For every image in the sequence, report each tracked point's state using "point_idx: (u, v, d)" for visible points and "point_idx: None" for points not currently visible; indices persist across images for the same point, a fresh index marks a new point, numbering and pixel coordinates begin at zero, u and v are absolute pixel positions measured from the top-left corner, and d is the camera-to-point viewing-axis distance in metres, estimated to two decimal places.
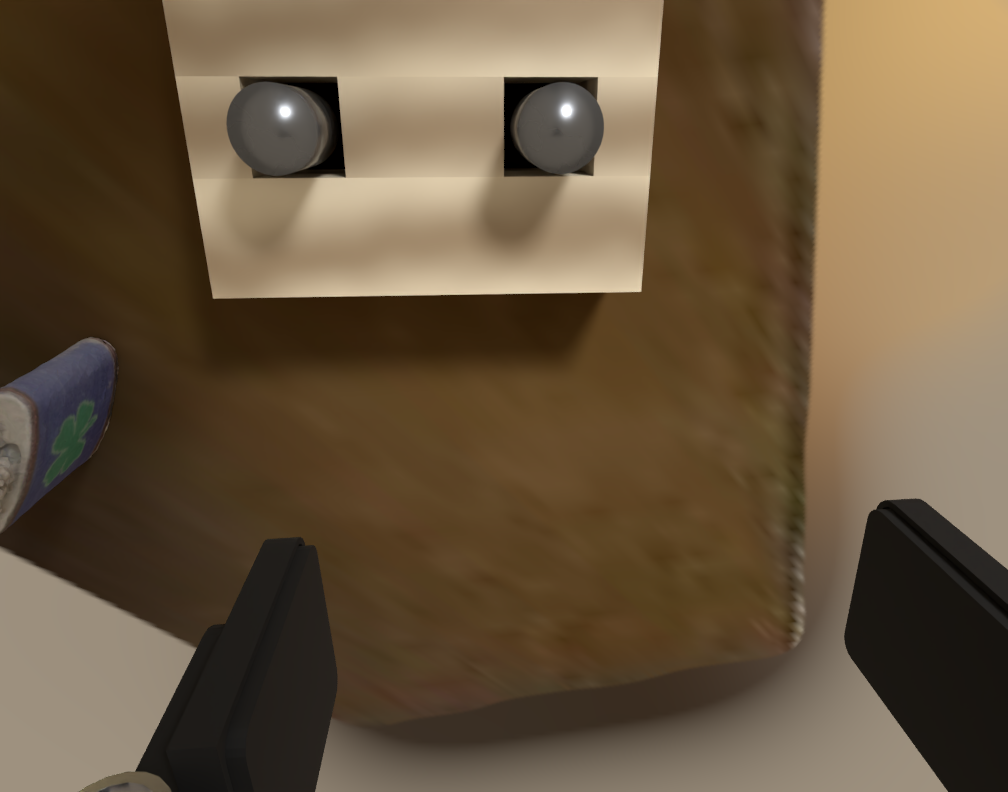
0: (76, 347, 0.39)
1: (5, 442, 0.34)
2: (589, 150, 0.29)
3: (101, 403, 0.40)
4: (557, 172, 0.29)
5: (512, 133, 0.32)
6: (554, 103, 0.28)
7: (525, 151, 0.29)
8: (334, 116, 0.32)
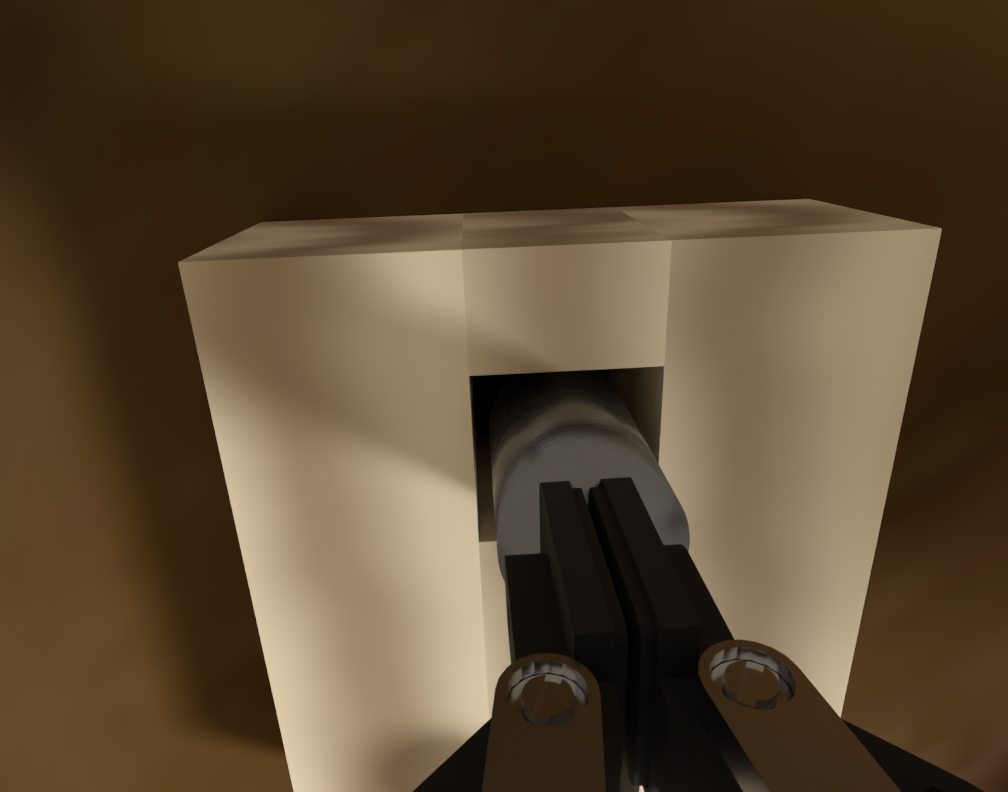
0: None
1: None
2: None
3: None
4: None
5: None
6: None
7: None
8: None
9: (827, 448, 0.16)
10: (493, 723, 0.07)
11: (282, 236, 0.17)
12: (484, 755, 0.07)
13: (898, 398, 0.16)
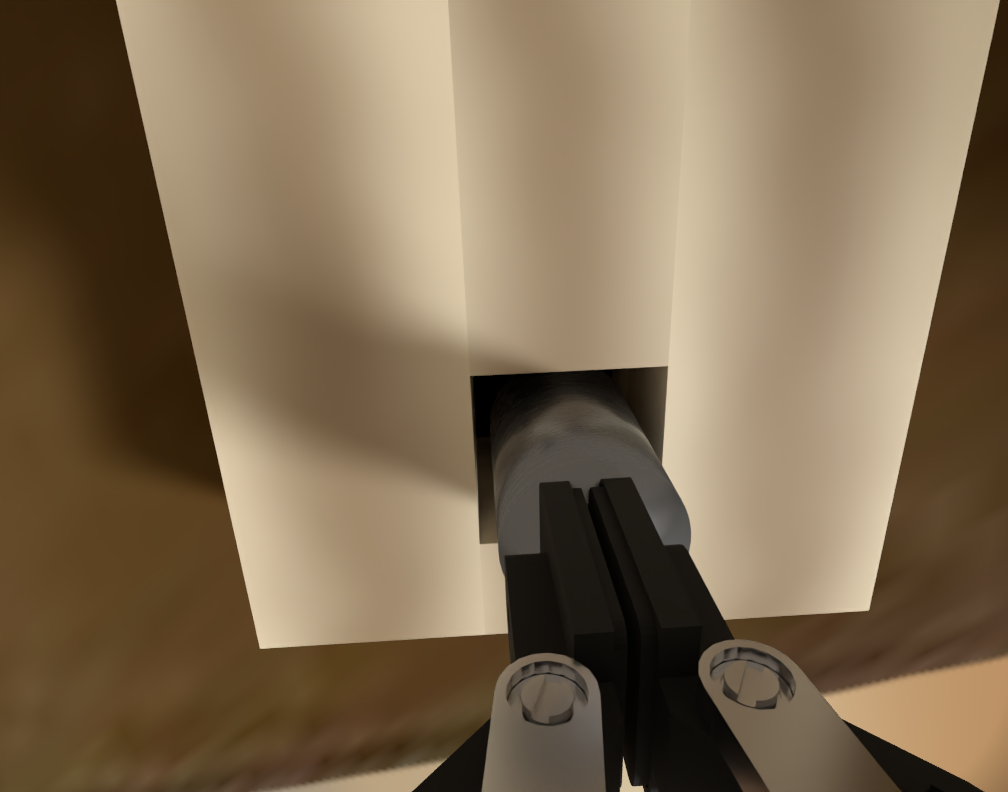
0: None
1: None
2: None
3: None
4: (501, 545, 0.12)
5: (555, 378, 0.16)
6: None
7: (546, 475, 0.12)
8: None
9: None
10: (493, 723, 0.07)
11: None
12: (484, 755, 0.07)
13: None
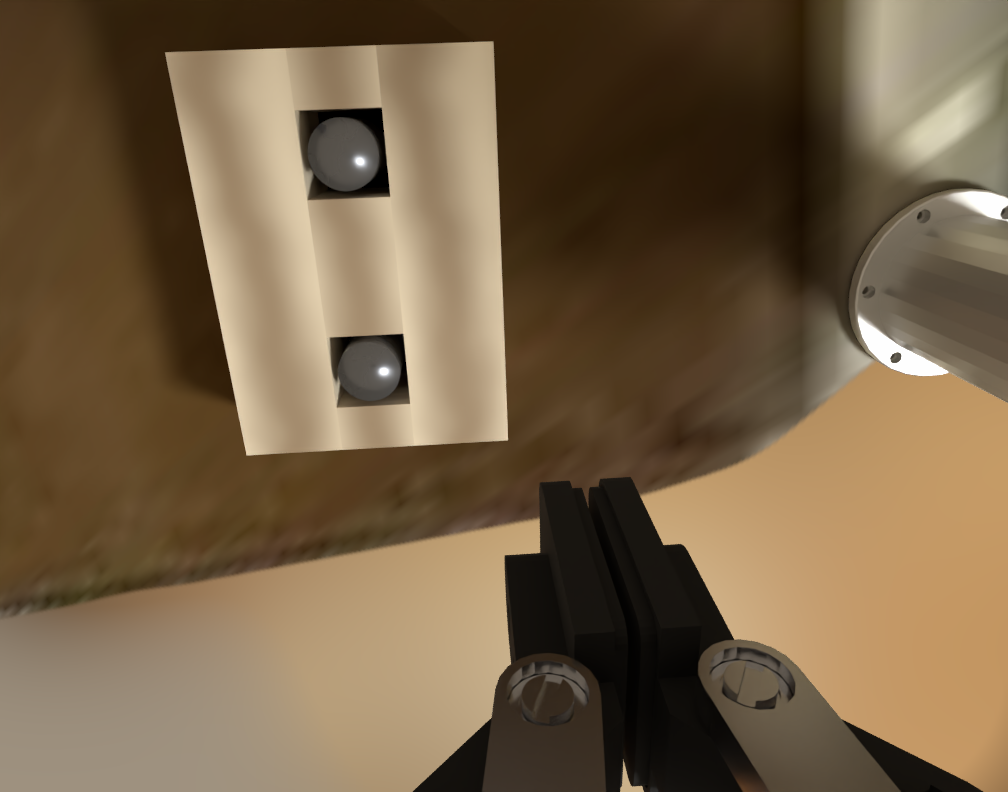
0: None
1: None
2: (356, 392, 0.40)
3: None
4: (338, 372, 0.39)
5: None
6: (385, 366, 0.39)
7: (350, 348, 0.39)
8: None
9: (464, 152, 0.35)
10: (493, 723, 0.07)
11: None
12: (484, 755, 0.07)
13: (492, 126, 0.35)
